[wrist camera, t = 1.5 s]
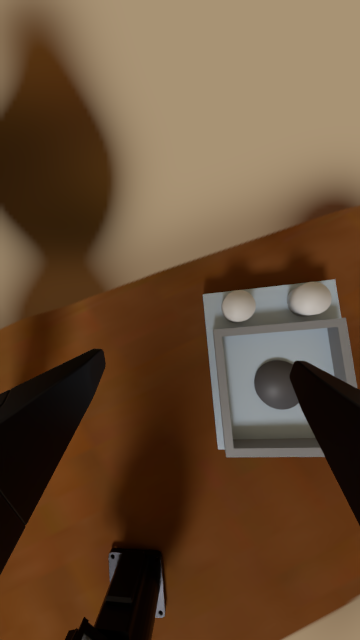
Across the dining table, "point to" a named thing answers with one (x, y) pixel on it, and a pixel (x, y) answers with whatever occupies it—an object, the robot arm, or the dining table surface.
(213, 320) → the square tray with knobs
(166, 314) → the dining table surface
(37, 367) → the dining table surface
